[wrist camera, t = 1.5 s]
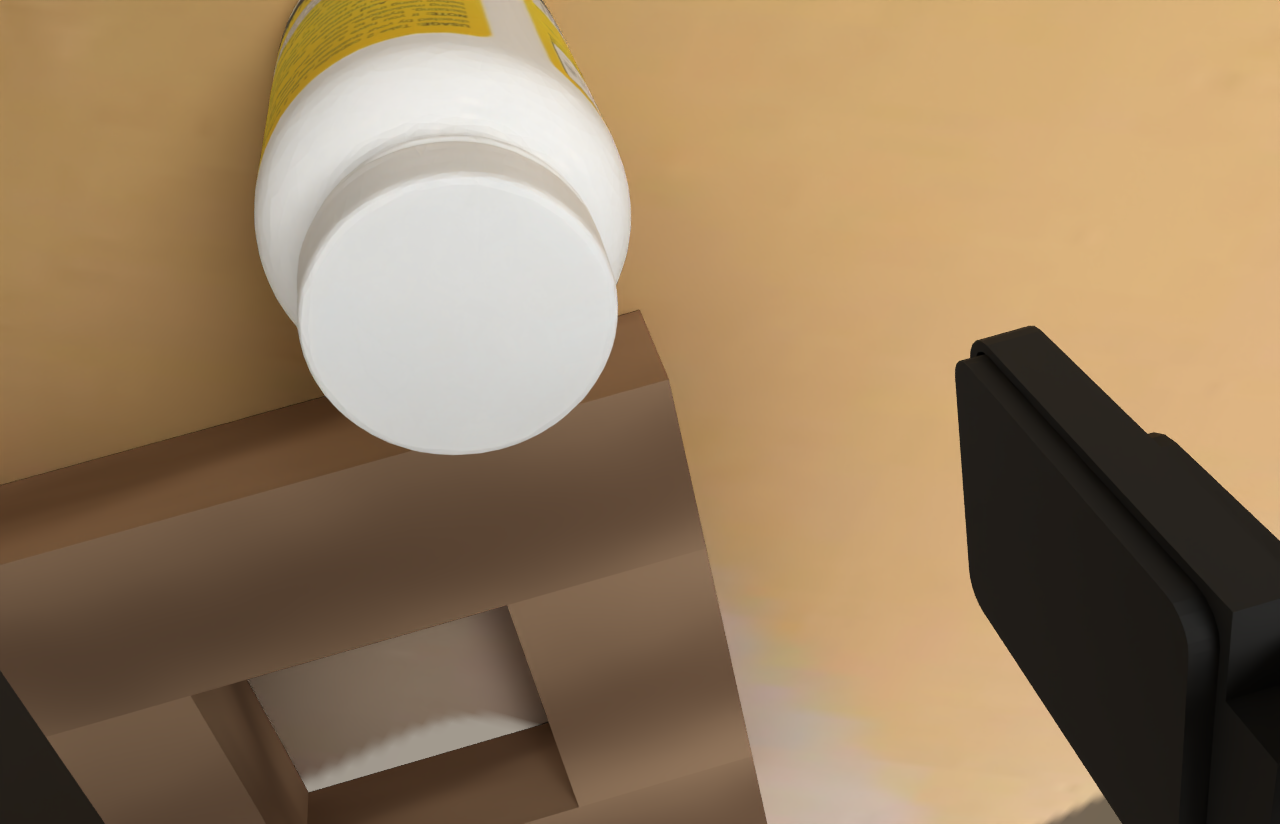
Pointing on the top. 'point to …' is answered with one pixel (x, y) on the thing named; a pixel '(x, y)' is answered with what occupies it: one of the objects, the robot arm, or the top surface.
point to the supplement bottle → (441, 217)
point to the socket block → (381, 613)
